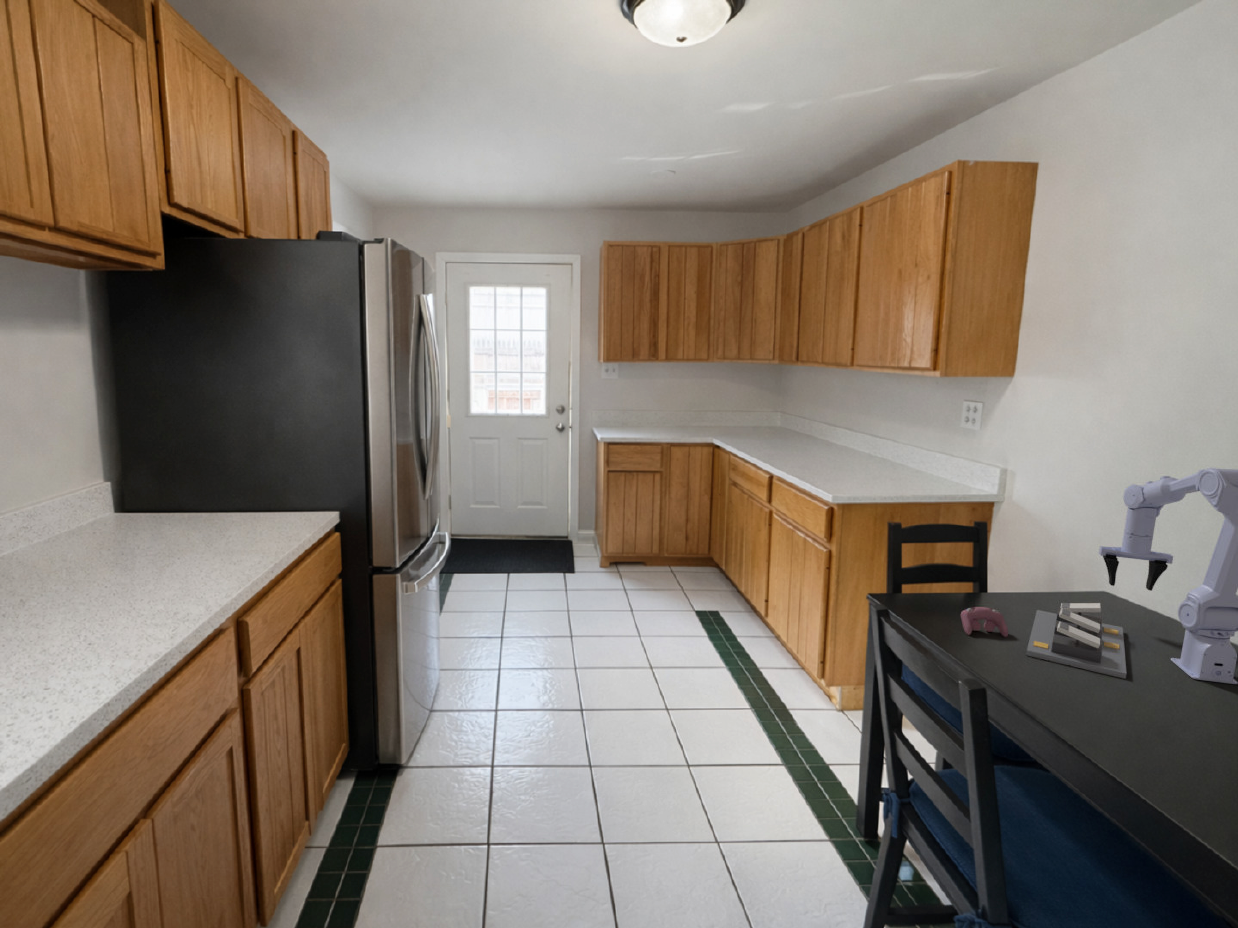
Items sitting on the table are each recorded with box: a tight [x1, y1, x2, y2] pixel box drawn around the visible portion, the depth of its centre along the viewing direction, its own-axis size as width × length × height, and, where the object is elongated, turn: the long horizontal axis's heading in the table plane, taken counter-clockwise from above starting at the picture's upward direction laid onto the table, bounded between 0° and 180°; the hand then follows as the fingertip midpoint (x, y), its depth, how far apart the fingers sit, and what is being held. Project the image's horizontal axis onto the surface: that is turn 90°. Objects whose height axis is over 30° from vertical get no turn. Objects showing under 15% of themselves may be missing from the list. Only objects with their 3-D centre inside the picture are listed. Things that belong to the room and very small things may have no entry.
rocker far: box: [1060, 602, 1102, 613], centre depth 167 cm, size 8×4×1 cm, turn 55°
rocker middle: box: [1059, 609, 1100, 633], centre depth 159 cm, size 8×4×1 cm, turn 56°
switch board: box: [1025, 607, 1127, 680], centre depth 159 cm, size 18×30×5 cm, turn 145°
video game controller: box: [960, 606, 1009, 638], centre depth 165 cm, size 10×5×7 cm, turn 84°
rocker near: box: [1057, 622, 1100, 648], centre depth 151 cm, size 8×4×1 cm, turn 56°
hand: (1130, 586), depth 169 cm, fingers open, 7 cm apart
